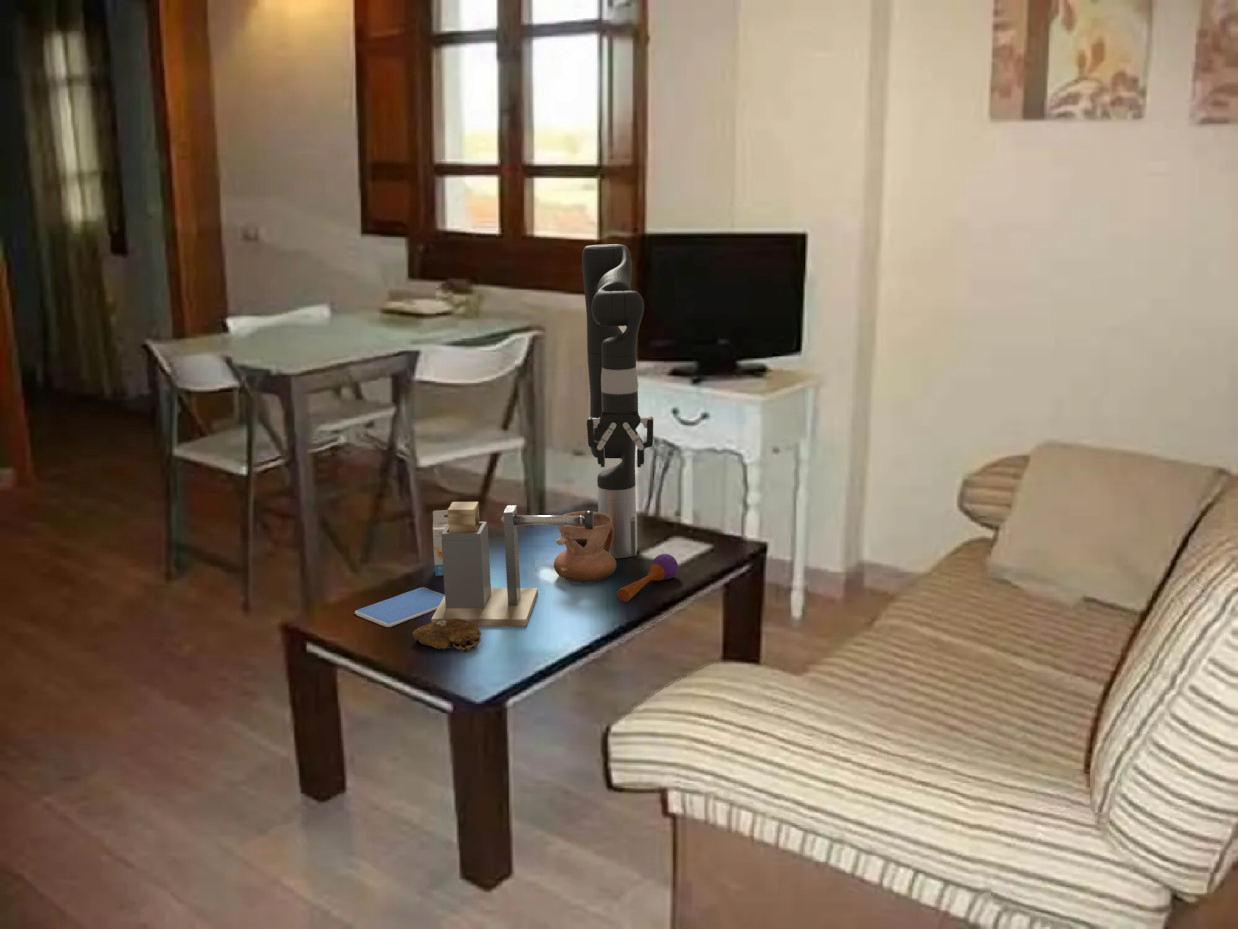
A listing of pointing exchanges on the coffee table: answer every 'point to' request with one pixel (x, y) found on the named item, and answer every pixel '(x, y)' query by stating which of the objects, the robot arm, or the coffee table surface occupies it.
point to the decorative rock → (449, 634)
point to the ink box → (439, 539)
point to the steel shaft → (555, 520)
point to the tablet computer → (402, 607)
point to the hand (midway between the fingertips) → (621, 466)
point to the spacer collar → (463, 517)
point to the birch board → (493, 610)
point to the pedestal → (466, 568)
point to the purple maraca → (651, 576)
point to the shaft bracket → (512, 556)
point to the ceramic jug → (586, 550)
